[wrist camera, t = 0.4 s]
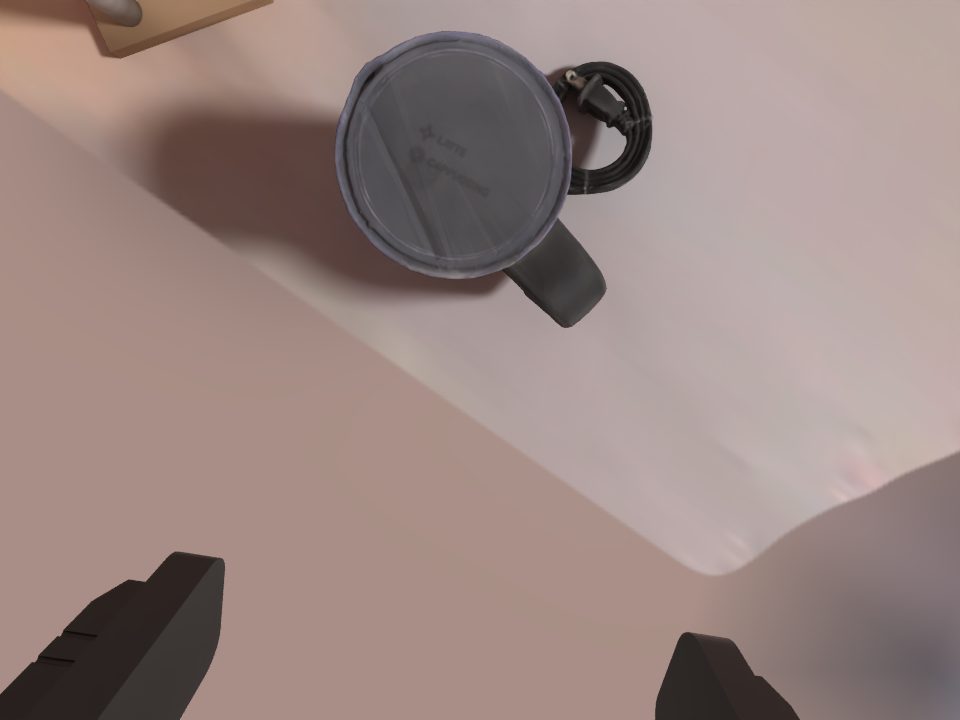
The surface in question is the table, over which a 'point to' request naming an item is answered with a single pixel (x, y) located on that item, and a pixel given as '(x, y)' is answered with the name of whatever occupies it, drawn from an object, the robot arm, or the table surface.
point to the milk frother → (482, 163)
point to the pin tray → (159, 20)
